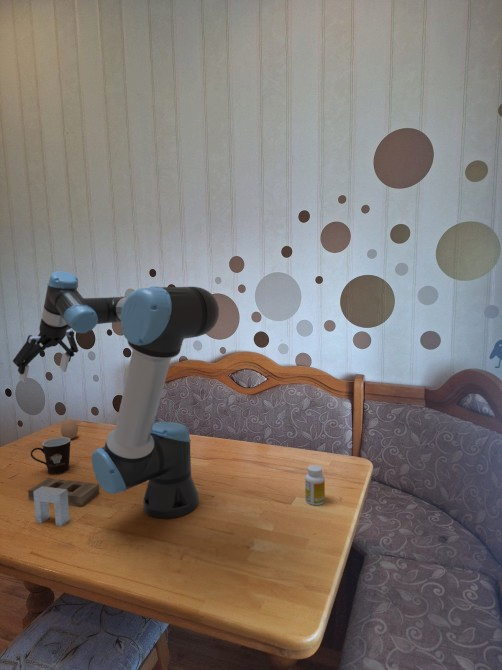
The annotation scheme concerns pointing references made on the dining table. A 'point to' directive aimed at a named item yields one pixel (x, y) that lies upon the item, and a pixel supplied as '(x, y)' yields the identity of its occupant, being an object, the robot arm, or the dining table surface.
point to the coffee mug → (56, 454)
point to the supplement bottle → (315, 486)
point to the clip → (51, 496)
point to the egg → (69, 429)
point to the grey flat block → (70, 490)
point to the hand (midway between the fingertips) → (43, 374)
